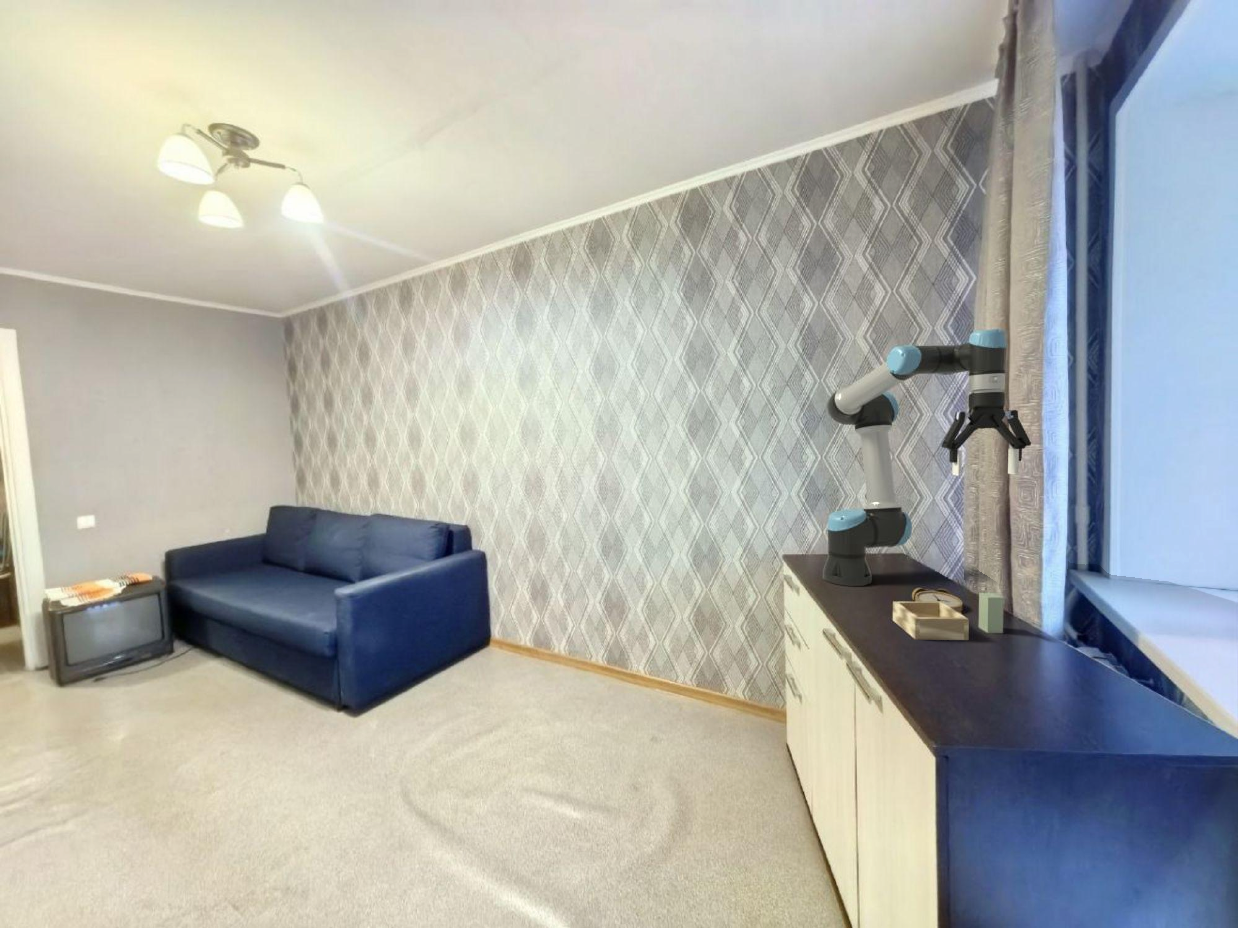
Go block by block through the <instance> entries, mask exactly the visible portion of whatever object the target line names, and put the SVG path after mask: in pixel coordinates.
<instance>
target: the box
mask: <svg viewBox="0 0 1238 928" xmlns="http://www.w3.org/2000/svg"><path fill="white" fill-rule="evenodd" d="M914 614H916V615H918V616H919V617H917V616H915V615H914ZM892 621H893V622H894V623H896V625H898V627H900V628H902V630H904V631H905V632H906V633H907V634H908V635H910V636H911V638H913V639H914V640H925V641H926V640H928V641H929V640H936V641H941V640H942V641H943V640H944V641H947V640H949V641H969V637H970V635H969V632H970V631H969V629H970V628H969V626H970V623H969V622H970V619H969V618H968V617H966V616H964V615H963V614H960V613H958V612H957V611H955V610H954V609H952V608H950V607H949V606H947V605H946V604H944V603H943V602H915V601H892Z"/></svg>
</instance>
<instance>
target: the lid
mask: <svg viewBox="0 0 1238 928" xmlns="http://www.w3.org/2000/svg"><path fill="white" fill-rule="evenodd" d="M978 628H979V629H980V630H982V631H983V632H985V633H987V634H1003V633H1004V597H1003V596H1001V595H999V594H997V593H995V592H979V593H978Z"/></svg>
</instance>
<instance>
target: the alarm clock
mask: <svg viewBox="0 0 1238 928" xmlns="http://www.w3.org/2000/svg"><path fill="white" fill-rule="evenodd" d="M911 599H912V601H914V602H943V603H944V604H946V605H947V606H949V607H950V608H952V609H954V610H955V611H957V612H958V613H960V614H961V615H963V612H962V611H963V604H964V603H963V600H961V599H960V598H959V597H958V596H955V595H953V594H951V592H950V591H949V590H947V589H944V588H938V589H936V590H933V589H926V588H922V587H917V588H915V589H913V591H912V593H911Z"/></svg>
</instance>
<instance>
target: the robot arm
mask: <svg viewBox="0 0 1238 928" xmlns="http://www.w3.org/2000/svg"><path fill="white" fill-rule="evenodd" d="M1007 347H1008V346H1007V334H1006V331H1005V330H1004V329H1000V328H999V329H998V328H997V329H996V328H994V329H992V328H991V329H984V330H977V331H974V332H972V333H970V334H969V339H968V342H965V343H960V344H954V345H952V344H951V345H949V344H948V345H944V344H943V345H942V344H941V345H912V344H908V345H900V346H895V347H894V348H892V349H891V350H890V353H889V354H888V355H887V358H886V361H885V362H884V363H882V364H881V365H880V366H878V367H876V368H875V369H873V370H872V371H869V373H867V374H866V375H864V376H863V377H861V378H859V379H858V380H857V381H855V382H854V383H852V384H850V385H849V386H844V387H841V388H839V389H838V390H836V391H835V392H834V393H832V395H831V396H830V397H829V399H828V401H827V407H826V408H827V412H828V415H829V416H830V418H831V419H832V420H833V421H834V422H836V423H838V424H840V425H846V426H850V425H851V426H853V425H854V431H855V433H856V434H858V435H859V436H860V441H861V442H860V444H861V451H862V453H861V454H862V461H863V472H864V481H865V492H866V500H867V501H866V502H867V504H866V505H865V506H863V509H856V508H854V509H853V508H851V509H841V510H837V511H834V512H832V513H830V514H829V516H828V520H827V525H826V526H827V545H828V546H827V553H828V554H827V558H826V561H825V564H824V566H823V569H822V579H823V580H824V581H826V582H828V583H831V584H834V585H838V586H839V585H840V586H847V587H862V586H867V585H870V584H871V583H872V578H873V577H872V576H873V575H872V573H871V569H870V568H869V564H868V561H867V556H866V555H867V549H877V548H893V547H898V546H903V545H904V544H906V543H907V542H908V540H910V537H911V535H912V532H913V523H912V520H911V518H910V517H909V515H908V513H906V512H904V511H903V509H902V505H900V504H899V503H898V502H897V500H896V493H895V485H894V483H895V482H894V474H893V466H892V465H893V464H892V458H891V449H890V439H889V431H890V430H891V429H892V428H893V423H894V422H895V421H896V420H897V419H898V415H899V412H900V411H899V409H900V408H899V403H898V401H897V399H896V397H895V396H894V395H893V394H891V393H890V392H889V391H890V390H892V389H894V388H895V387H896V386H898V385H900V384H903V383H904V382H906V381H907V380H909V379H911V378H913V377H914V376H916V375H930V374H932V375H933V374H936V375H941V376H942V375H943V376H944V375H949V376H950V375H954V374H959V373H964V372H968V391H969V392H970V394H969V395H968V403H967V404H968V412H965V411H956V412H955V414H954V420H953V423H952V424H951V426H950V428H949V430H948V432H947V433H946V435H945V438H944V439H943V440H942V443H941V447H942V448H945V449H947V450H948V451H949V459H948V460H949V462H950V463H952V471H951V472H952V475H954V476H957V477H960V476H961V477H962V469H963V468H962V465H963V464H962V463H963V462H962V461H963V460H962V459H963V450H960V448H961V447H962V446H963V445H964V443H965V442H966V441H967V440H969V438H970V437H971V436H972V435H973V433H974V432H975V431H978V429H981V430H982V429H984V430H985V429H994V430H996V431H997V433H999V435H1001V437H1002V438H1003V439H1004V440H1005V441H1006V443H1008V445H1010V446H1011V448H1008V455H1007V456H1008V457H1007V459H1008V461H1007V474H1008V475H1015V476H1017V475H1019V465H1020V462H1022V458H1023V457H1022V456H1023V453H1022V452H1023V449H1026V447H1030V446H1031V444H1032V442H1031V439H1030V438H1029V435H1028V434H1027V432H1026V430H1025V428H1024V426H1023V424H1022V423H1021V421H1020V419H1019V410H1017V409H1009V410H1006V411H1005V410H1004V409H1005V404H1006V393H1005V392H1004V390H1005V389H1006V361H1007V360H1006V358H1007ZM1004 418H1005V420H1007V423H1008V425H1009V427H1010V429H1009V428H1008V427H1007V424H1006V423H1005V422H1004V420H1003V419H1004ZM967 419H968V420H969V422H968V423H967V424H966V425H965V428H963V430H962V431H961V429H962V427H963V426H964V423H965V421H966V420H967ZM960 431H961V432H960ZM959 433H960V434H959Z"/></svg>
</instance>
